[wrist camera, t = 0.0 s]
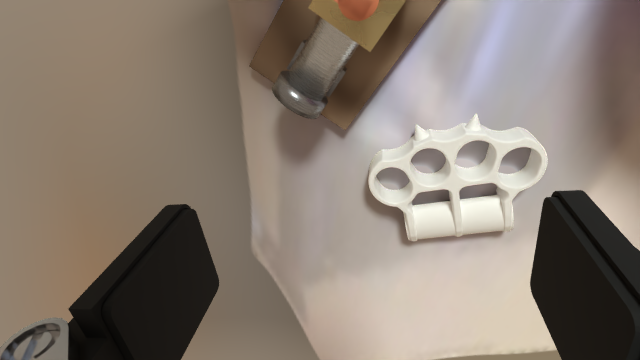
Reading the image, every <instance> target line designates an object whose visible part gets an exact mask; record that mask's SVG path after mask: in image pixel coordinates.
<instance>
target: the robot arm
mask: <svg viewBox="0 0 640 360" xmlns="http://www.w3.org/2000/svg"><path fill="white" fill-rule="evenodd" d="M530 286H531V292H532V295H533V297H534V299H535V302H536V304H537V306H538V308H539V310H540V313H541V315H542V317H543V319H544V321H545V324H546V326H547V328H548V330H549V332H550V335H551V337H552V339H553V341H554V343H555V346H556V348H557V350H558V352H559V354H560V357H561V359H562V360H640V251H639V250H638V249H637V248H635V247H634V246H633V245H632V244H631V243H630V242H629V240H628V239H627V238H626V237H625V236H624V235H623V234H622V233H621V232H620V231H619V229H618V228H617V227H616V226H615V225H614V224H613V223H612V222H611V221H610V220H609V218H608V217H607V216H606V215H605V214H604V213H603V212H602V211H601V210H600V208H599V207H598V206H597V205H596V204H595V203H594V202H593V201H592V200H591V199H590V197H589V196H588V195H587V194H586V193H585V192H584V191H581V190H575V191H555V192H553V194H552V196H551V197H546V198H545V199H544V202H543V207H542V213H541V219H540V225H539V231H538V237H537V243H536V249H535V255H534V262H533V268H532V274H531V280H530ZM218 287H219V279H218V275H217V273H216V269H215V266H214V263H213V261H212V257H211V255H210V251H209V248H208V246H207V243H206V240H205V237H204V234H203V231H202V228H201V225H200V222H199V219H198V216H197V214H196V211H195V210H194V209H191V208H190V207H189V206H188V205H186V204H180V205H167V206H165V207H164V208H163V209H162V210H161V212H159V214H158V215H157V216H156V217H155V218H154V219H153V220H152V221H151V222H150V223H149V224H148V225H147V226H146V227H145V228H144V229H143V230H142V232H141V233H140V234H139V235H138V236H137V237H136V238H135V239H134V240H133V241H132V242H131V243H130V244H129V245H128V246H127V247H126V248H125V249H124V251H123V252H122V253H121V254H120V255H119V256H118V257H117V258H116V259H115V260H114V261H113V262H112V263H111V264H110V265H109V266H108V267H107V269H106V270H105V271H104V272H103V273H102V274H101V275H100V276H99V277H98V278H97V279H96V280H95V281H94V282H93V283H92V284H91V285H90V286H89V287H88V289H87V290H86V291H85V292H84V293H83V294H82V295H81V296H80V297H79V298H78V299H77V300H76V301H75V302H74V303H73V304H72V306H70V308H69V311H70V312H71V314H72V316H73V317H74V318H73V319H72V320H71V321H70V322H69V323H67V321H65V320H64V319H62V318H48V319H44V320H41V321H38V322H35V323H33V324H31V325H29V326H27V327H25V328H23V329H22V330H20V331H19V332H18V333H16V334H14V335H13V336H12V337H10V338H9V339H8V340H7V341H6V342H5V343H4V344H3V345H2V346H1V347H0V360H181V358H182V356H183V354H184V353H185V351H186V349H187V347H188V345H189V343H190V341H191V339H192V338H193V335H194V334H195V332H196V330H197V328H198V326H199V324H200V322H201V321H202V319H203V317H204V315H205V313H206V311H207V309H208V307H209V305H210V304H211V302H212V300H213V298H214V296H215V294H216V292H217V290H218Z"/></svg>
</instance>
